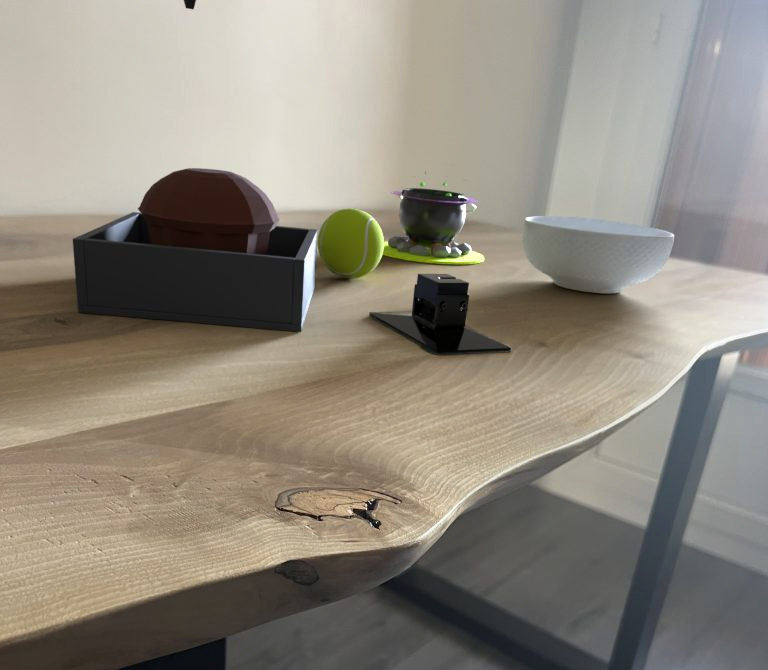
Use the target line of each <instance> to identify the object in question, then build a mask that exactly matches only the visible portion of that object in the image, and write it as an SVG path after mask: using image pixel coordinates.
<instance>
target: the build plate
mask: <svg viewBox="0 0 768 670" xmlns="http://www.w3.org/2000/svg"><path fill="white" fill-rule="evenodd" d="M469 286H470V282H468V281H466V280H463V279H461V278H457V277H456V276H453V275H452V274H450V273H417V277H416V283H415V284H414V287H413V297H412V298H413V299H412V307H411V310H405V311H400V310H399V311H398V310H397V311H370V312H369V314H368V316H369V317H370V318H372V319H373V320H375V321H377V322H379V323H380V324H382V325H384V326H386V327H388V328H389V329H391V330H392V331H394V332H396V333H398V334H400V335H401V336H403V337H405V338H407V339H408V340H410V341H412V342H414V343H416V344H417V345H419V348H421V349H423V350H424V351H426V352H428V353H430V354H434V355H438V356H442V355H445V356H446V355H464V354H466V355H467V354H487V353H503V352H504V353H508V352H511V350H512V347H511V346H510V345H508V344H505V343H503V342H502V341H499V340H497V339H495V338H494V337H491V336H489V335H487V334H485V333H483V332H481V331H479V330H477V329H475V328H473V327H471V326H469V325H467V323H466V322H467V317H468V308H469V303H470V302H469V301H470V295H469Z"/></svg>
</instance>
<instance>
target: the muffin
mask: <svg viewBox="0 0 768 670" xmlns="http://www.w3.org/2000/svg"><path fill="white" fill-rule="evenodd" d="M137 210H138V211H139V213H141V214H142V215H143V216H144V217H145V219H146V220H147V223H148V229H149V234H150V240H151V244H152V245H163V246H173V247H184V248H195V249H206V250H216V251H227V252H238V253H249V254H259V255H267V249H268V243H269V237H270V231H271V230H273V229H274V228H275V227H276V226H278V223H279V222H280V220H281V219H280V217H279V216H278V214H277V211H276V209H275V207H274V204H273V202H272V201H271V199H270V198H269V197H268V195H267V194H266V192H264V191H263V190H262V189H261V188H260V187H259V186H257V185H256V184H254V183H253V182H252V181H251V180H249V179H248V178H246V177H244V176H242V175H240V174H238V173H235V172H232V171H228V170H222V169H214V168H200V167H188V168H183V169H179V170H175V171H172V172H171V173H169V174H167V175H165V176H163V177H162V178H159V180H157V181H155V182H154V183H153V184H152V185H151V186H150V188H149V189H148V190H147V191H146V192H145V194H144V196H143V198H142V201H141V202H140V205H139V207H137Z"/></svg>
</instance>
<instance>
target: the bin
mask: <svg viewBox="0 0 768 670" xmlns="http://www.w3.org/2000/svg"><path fill="white" fill-rule="evenodd" d="M318 235H319V229H315V228H305V227H303V228H302V227H295V226H283V225H276V227H275V228H274V229H273V230H271V231H270V237H269V243H268V249H267V255H259V254H249V253H238V252H227V251H216V250H206V249H195V248H184V247H173V246H163V245H152V244H151V240H150V234H149V229H148V223H147V220H146V219H145V217H144V216H143V215H142V214H141V212H137V211H136V212H135V211H132V212H130V213H128V214H126V215H123V216H121V217H119V218H116V219H114V220H112V221H109V222H108V223H105V224H102V225H101V226H99V227H96V228H94V229H92V230H90V231H87V232H85V233H83V234H81V235H78V236H76V237H73V238H72V251H73V263H74V276H75V291H76V304H77V312H78V313H80V314H92V315H103V316H113V317H124V318H125V317H126V318H138V319H149V320H159V321H160V320H161V321H172V322H184V323H193V324H194V323H195V324H204V325H206V324H207V325H216V326H226V327H227V326H229V327H238V328H249V329H250V328H252V329H262V330H272V331H274V330H275V331H285V332H286V331H287V332H298V333H301V332H302V330H303V327H304V324H305V320H306V317H307V314H308V311H309V308H310V304H311V300H312V298H313V295H314V292H315V289H316V272H317V271H316V270H317V253H318Z"/></svg>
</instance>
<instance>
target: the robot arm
mask: <svg viewBox="0 0 768 670" xmlns="http://www.w3.org/2000/svg"><path fill="white" fill-rule="evenodd" d="M196 2H197V0H183V3H184V6H185V9H187V10H188V9H189V10H194V9H195V5H196Z"/></svg>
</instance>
